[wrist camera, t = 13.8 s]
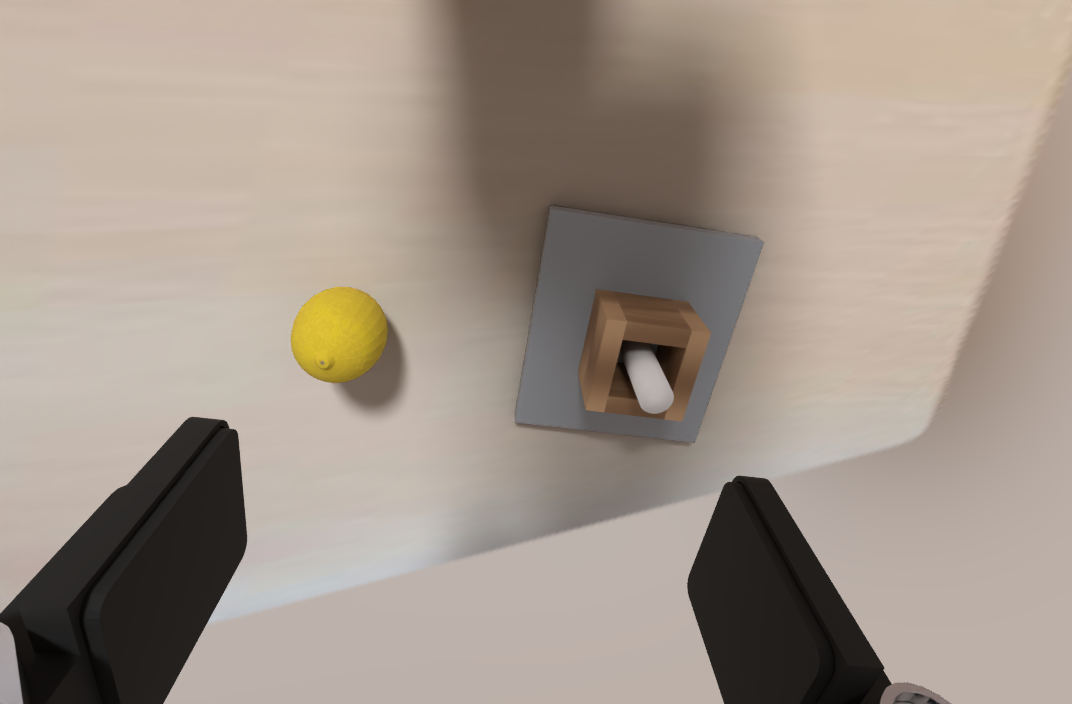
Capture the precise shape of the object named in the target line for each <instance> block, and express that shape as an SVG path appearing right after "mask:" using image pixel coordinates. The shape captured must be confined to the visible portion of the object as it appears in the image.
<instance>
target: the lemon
mask: <svg viewBox="0 0 1072 704" xmlns="http://www.w3.org/2000/svg"><path fill="white" fill-rule="evenodd" d="M387 333H388V328H387V321H386V317H385V315H384V313H383V310H382V308H381V307H380V306H379V304H378V303H377V302H376V300H374V299H373V298H372V297H371V296H370V295H368V294H367V293H365V292H363V291H361V290H358V289H354V288H350V287H335V288H331V289H327V290H324V291H322V292H320V293H318V294H316V295H314V296H313V297H312V298H311V299H310V300H309V301H308V302H306V303H305V304H304V305H303V306H302V308H301V309H300V311H299V313H298V315H297V317H296V319H295V321H294V324H293V328H292V333H291V346H292V352H293V354H294V357H295V359H296V361H297V362H298V363H299V365H300V366H301V368H302V369H303V370H304V371H306V372H307V373H308V374H309V375H311V376H313V377H314V378H316V379H319V380H322V381H325V382H332V383H340V382H347V381H350V380H353V379H356V378H358V377H359V376H361V375H362V374H364V373H365V372H367V371H368V370H369V369H370V368H371V367H372V366H373V365H374V364H375V363H376V362H377V361H378V359H379V358H380V356H381V354H382V352H383V350H384V348H385V345H386V341H387Z"/></svg>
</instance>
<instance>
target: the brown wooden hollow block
mask: <svg viewBox="0 0 1072 704" xmlns="http://www.w3.org/2000/svg"><path fill="white" fill-rule="evenodd" d="M710 335H711V332H710V331H709V329H708V328H707V327H706V325H705V324H704V323H703V321H702V320H701V318H700V317H699V316H698V314H697V313H696V312H695V310H694V309H693V308H692V306H691V305H690V303H689V302H686V301H679V300H672V299H665V298H658V297H650V296H643V295H636V294H629V293H622V292H615V291H608V290H601V289H596V292H595V297H594V301H593V306H592V310H591V315H590V319H589V324H588V328H587V333H586V337H585V342H584V346H583V351H582V355H581V360H580V364H579V369H578V376H579V380H580V385H581V390H582V395H583V399H584V404H585V409H586V410H589V411H598V412H606V413H614V414H623V415H631V416H640V417H648V418H657V419H665V420H674V421H682V420H683V417H684V414H685V411H686V408H687V405H688V402H689V399H690V396H691V393H692V390H693V387H694V384H695V381H696V378H697V375H698V372H699V369H700V366H701V363H702V360H703V356H704V353H705V350H706V347H707V344H708V341H709V338H710ZM622 340H628V341H636V342H643V343H651V344H658V348H657V351H656V355H655V356H656V359H657V361H658V363H659V365H660V367H661V369H662V371H663V373H664V375H665V377H666V379H667V381H668V383H669V385H670V387H671V389H672V391H673V394H674V400H673V403H672V405H671V406H670V407H669V408H668V409H667V410H666V411H664V412H661V413H657V414H652V413H648V412H646V411H644V410H643V409H642V408H641V406H640V404H639V401H638V399H637V396H636V393H635V391H634V388H633V385H632V383H631V380H630V377H629V375H628V372H627V369H626V366H625V364H624V363H621V362H617V360H618V356H619V352H620V348H621V344H622Z"/></svg>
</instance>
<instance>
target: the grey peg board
mask: <svg viewBox="0 0 1072 704" xmlns="http://www.w3.org/2000/svg"><path fill="white" fill-rule="evenodd" d="M763 243H764V242H763V241H762V240H760V239H759V238H758V237H753V236H747V235H740V234H734V233H727V232H721V231H714V230H708V229H702V228H695V227H689V226H682V225H676V224H669V223H663V222H656V221H650V220H643V219H637V218H630V217H624V216H617V215H611V214H604V213H598V212H591V211H585V210H578V209H572V208H565V207H559V206H552V205H550V209H549V215H548V221H547V227H546V233H545V239H544V245H543V251H542V256H541V262H540V268H539V274H538V280H537V286H536V292H535V298H534V304H533V309H532V315H531V321H530V327H529V333H528V339H527V345H526V351H525V356H524V362H523V368H522V374H521V380H520V386H519V392H518V398H517V403H516V409H515V423H524V424H533V425H542V426H551V427H560V428H568V429H577V430H586V431H595V432H604V433H613V434H622V435H630V436H639V437H648V438H657V439H666V440H675V441H683V442H692V443H695V440H696V437H697V434H698V431H699V428H700V425H701V422H702V420H703V417H704V414H705V411H706V408H707V405H708V402H709V399H710V396H711V394H712V391H713V388H714V385H715V382H716V379H717V376H718V373H719V370H720V368H721V365H722V362H723V359H724V356H725V353H726V350H727V347H728V345H729V342H730V339H731V336H732V333H733V330H734V327H735V324H736V321H737V319H738V316H739V313H740V310H741V307H742V304H743V301H744V298H745V295H746V293H747V290H748V287H749V284H750V281H751V278H752V275H753V272H754V269H755V267H756V264H757V261H758V258H759V255H760V252H761V249H762V246H763ZM596 289H601V290H608V291H615V292H622V293H629V294H636V295H643V296H650V297H658V298H665V299H672V300H679V301H686V302H689V303H690V305H691V306H692V308H693V309H694V310H695V312H696V313H697V314H698V316H699V317H700V318H701V320H702V321H703V323H704V324H705V325H706V327H707V328H708V329H709V331H710V332H711V335H710V338H709V341H708V344H707V347H706V350H705V353H704V356H703V360H702V363H701V366H700V369H699V372H698V375H697V378H696V381H695V384H694V387H693V390H692V393H691V396H690V399H689V402H688V405H687V408H686V411H685V414H684V417H683V420H682V421H674V420H665V419H657V418H648V417H640V416H631V415H623V414H614V413H606V412H598V411H589V410H586V409H585V404H584V399H583V395H582V390H581V385H580V380H579V376H578V369H579V364H580V360H581V355H582V351H583V346H584V342H585V337H586V333H587V328H588V324H589V319H590V315H591V310H592V306H593V301H594V297H595V292H596ZM657 348H658V344H651V343H643V342H636V341H628V340H622V344H621V348H620V352H619V356H618V360H617V362H621V363H624V364H625V366H626V369H627V372H628V375H629V377H630V380H631V383H632V385H633V388H634V391H635V393H636V396H637V399H638V401H639V404H640V406H641V408H642V409H643V410H644V411H646V412H648V413H652V414H657V413H661V412H664V411H666V410H667V409H668V408H669V407H670V406H671V405H672V403H673V400H674V394H673V391H672V389H671V387H670V385H669V383H668V381H667V379H666V377H665V375H664V373H663V371H662V369H661V367H660V365H659V363H658V361H657V359H656V356H655V355H656V351H657Z"/></svg>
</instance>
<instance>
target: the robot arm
mask: <svg viewBox="0 0 1072 704" xmlns="http://www.w3.org/2000/svg"><path fill="white" fill-rule="evenodd" d="M246 545H247V530H246V519H245V507H244V496H243V485H242V473H241V462H240V451H239V439H238V433H237V431H236V430H234V429H229V426H228V424H227V422H226V421H224V420H218V419H208V418H199V417H190V418H188V419H187V420H186V421H185V422H184V423H183V424H182V425H181V426H180V427H179V428H178V429H177V431H176V432H175V433H174V434H173V435H172V436H171V437H170V438H169V439H168V440H167V442H166V443H165V444H164V445H163V446H162V447H161V448H160V449H159V450H158V451H157V453H156V454H155V455H154V456H153V457H152V458H151V459H150V460H149V461H148V462H147V463H146V465H145V466H144V467H143V468H142V469H141V470H140V471H139V472H138V473H137V474H136V476H135V477H134V478H133V479H132V480H131V481H130V482H129V483H128V484H127V485H126V486H123V487H120V488H118V489H117V490H116V491H115V492H113V493H112V494H111V495H110V496H109V497H108V498H107V499H106V500H105V502H104V503H103V504H102V505H101V506H100V507H99V508H98V509H97V510H96V511H95V512H94V513H93V514H92V516H91V517H90V518H89V519H88V520H87V521H86V522H85V523H84V524H83V525H82V526H81V527H80V528H79V530H78V531H77V532H76V533H75V534H74V535H73V536H72V537H71V538H70V539H69V540H68V541H67V542H66V544H65V545H64V546H63V547H62V548H61V549H60V550H59V551H58V552H57V553H56V554H55V555H54V556H53V558H52V559H51V560H50V561H49V562H48V563H47V564H46V565H45V566H44V567H43V568H42V569H41V570H40V572H39V573H38V574H37V575H36V576H35V577H34V578H33V579H32V580H31V581H30V582H29V583H28V584H27V586H26V587H25V588H24V589H23V590H22V591H21V592H20V593H19V594H18V595H17V596H16V597H15V598H14V600H13V601H12V602H11V603H10V604H9V605H8V606H7V607H6V608H5V609H4V610H3V611H2V612H1V614H0V704H163V703H164V701H165V699H166V698H167V696H168V694H169V692H170V690H171V688H172V686H173V685H174V683H175V681H176V679H177V677H178V675H179V674H180V672H181V670H182V668H183V666H184V664H185V663H186V661H187V659H188V657H189V655H190V653H191V651H192V650H193V648H194V646H195V644H196V642H197V641H198V638H199V637H200V635H201V633H202V631H203V630H204V628H205V626H206V624H207V622H208V620H209V619H210V617H211V615H212V613H213V611H214V609H215V607H216V606H217V604H218V602H219V600H220V598H221V596H222V595H223V593H224V591H225V589H226V587H227V585H228V584H229V582H230V580H231V578H232V576H233V574H234V573H235V571H236V569H237V567H238V565H239V563H240V562H241V560H242V558H243V555H244V553H245V549H246ZM687 584H688V586H687V587H688V594H689V598H690V601H691V604H692V607H693V610H694V613H695V616H696V619H697V622H698V626H699V629H700V631H701V635H702V638H703V641H704V644H705V647H706V650H707V653H708V656H709V659H710V662H711V665H712V668H713V671H714V674H715V677H716V680H717V683H718V686H719V689H720V692H721V695H722V698H723V701H724V704H951V703H949V702H948V701H947V700H945V699H944V698H943V697H941V696H940V695H938V694H936V693H934V692H932V691H930V690H928V689H926V688H924V687H922V686H918V685H915V684H911V683H894V684H891V682H890V681H889V679H888V677H887V676H886V674H885V672H884V671H883V670H884V666H883V665H882V663H881V661H880V660H879V658H878V657H877V655H876V653H875V652H874V650H873V649H872V647H871V645H870V644H869V642H868V641H867V639H866V637H865V635H864V634H863V632H862V631H861V629H860V627H859V626H858V624H857V622H856V621H855V619H854V617H853V616H852V614H851V613H850V611H849V609H848V608H847V606H846V605H845V603H844V601H843V600H842V598H841V596H840V595H839V593H838V591H837V590H836V588H835V587H834V585H833V583H832V582H831V580H830V578H829V577H828V575H827V574H826V572H825V570H824V569H823V567H822V566H821V564H820V562H819V561H818V559H817V557H816V556H815V554H814V552H813V551H812V549H811V547H810V546H809V544H808V543H807V541H806V539H805V538H804V536H803V535H802V533H801V531H800V530H799V528H798V526H797V525H796V523H795V522H794V520H793V518H792V517H791V515H790V513H789V512H788V510H787V508H786V507H785V505H784V504H783V502H782V500H781V499H780V497H779V495H778V494H777V492H776V491H775V489H774V487H773V486H772V484H771V483H770V482H769V480H767V479H765V478H756V477H747V476H736V477H735V478H734V479H733V481H732V482H727V483H726V484H725V485H724V487H723V489H722V492H721V495H720V497H719V500H718V502H717V505H716V507H715V510H714V513H713V515H712V518H711V521H710V523H709V526H708V528H707V531H706V533H705V536H704V538H703V541H702V543H701V546H700V549H699V551H698V553H697V556H696V559H695V561H694V564H693V566H692V569H691V571H690V574H689V577H688V583H687Z"/></svg>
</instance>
